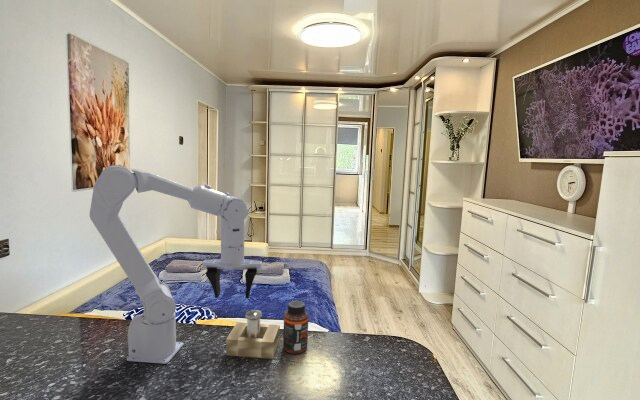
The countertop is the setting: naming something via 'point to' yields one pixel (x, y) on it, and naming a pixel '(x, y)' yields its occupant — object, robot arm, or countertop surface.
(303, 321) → the supplement bottle
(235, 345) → the hole block
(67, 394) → the countertop surface
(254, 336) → the pin
